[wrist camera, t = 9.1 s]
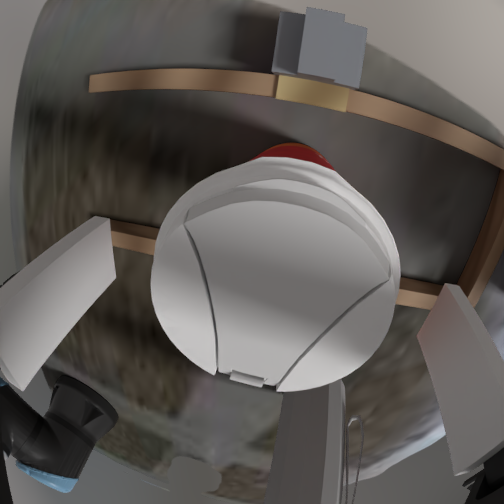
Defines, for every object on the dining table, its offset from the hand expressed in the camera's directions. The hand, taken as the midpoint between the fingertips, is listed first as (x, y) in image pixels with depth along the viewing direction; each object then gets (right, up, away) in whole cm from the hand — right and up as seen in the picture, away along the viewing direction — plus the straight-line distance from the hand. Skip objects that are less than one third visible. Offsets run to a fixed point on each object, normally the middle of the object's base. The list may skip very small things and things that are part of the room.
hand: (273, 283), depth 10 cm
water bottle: (+7, -14, +21) cm, 26 cm away
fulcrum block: (+4, +14, +6) cm, 16 cm away
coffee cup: (+2, +6, +11) cm, 13 cm away
